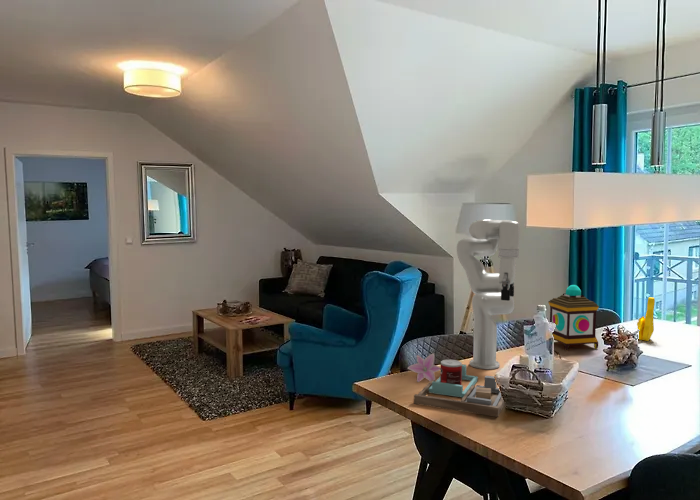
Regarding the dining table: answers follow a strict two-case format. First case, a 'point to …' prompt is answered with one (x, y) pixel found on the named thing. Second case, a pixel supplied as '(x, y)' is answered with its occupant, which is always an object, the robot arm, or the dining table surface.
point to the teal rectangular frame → (453, 385)
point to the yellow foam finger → (647, 322)
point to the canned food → (451, 372)
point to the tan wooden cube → (483, 393)
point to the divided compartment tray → (457, 403)
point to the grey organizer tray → (487, 384)
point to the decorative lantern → (574, 318)
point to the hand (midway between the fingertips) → (507, 298)
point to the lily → (425, 368)
